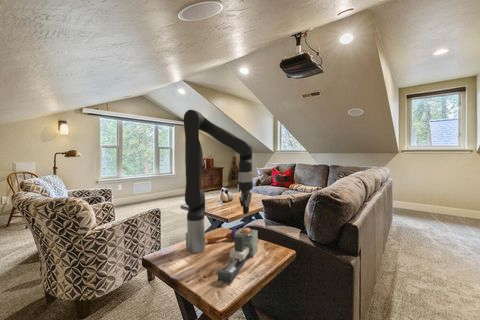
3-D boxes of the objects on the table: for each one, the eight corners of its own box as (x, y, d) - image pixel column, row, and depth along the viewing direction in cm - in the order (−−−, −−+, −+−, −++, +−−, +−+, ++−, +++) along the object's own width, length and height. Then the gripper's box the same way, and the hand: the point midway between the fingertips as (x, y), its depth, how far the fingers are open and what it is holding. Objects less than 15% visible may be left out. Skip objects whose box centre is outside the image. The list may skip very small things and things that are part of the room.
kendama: (206, 234, 130) (237, 227, 136) (207, 245, 129) (239, 237, 136) (208, 236, 124) (240, 229, 131) (209, 247, 123) (242, 239, 130)
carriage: (243, 262, 100) (243, 239, 100) (229, 260, 103) (229, 237, 103) (249, 254, 108) (248, 233, 107) (236, 252, 110) (235, 231, 110)
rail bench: (235, 284, 87) (235, 258, 87) (213, 279, 91) (213, 254, 90) (257, 250, 117) (257, 230, 116) (240, 247, 120) (240, 228, 120)
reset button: (240, 237, 113) (240, 230, 113) (243, 234, 117) (243, 227, 117) (248, 238, 112) (248, 231, 112) (251, 235, 116) (251, 228, 116)
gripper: (243, 178, 121) (243, 209, 122) (233, 182, 108) (234, 216, 109) (256, 178, 118) (256, 210, 119) (248, 182, 105) (248, 217, 106)
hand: (245, 213), depth 114 cm, fingers closed
